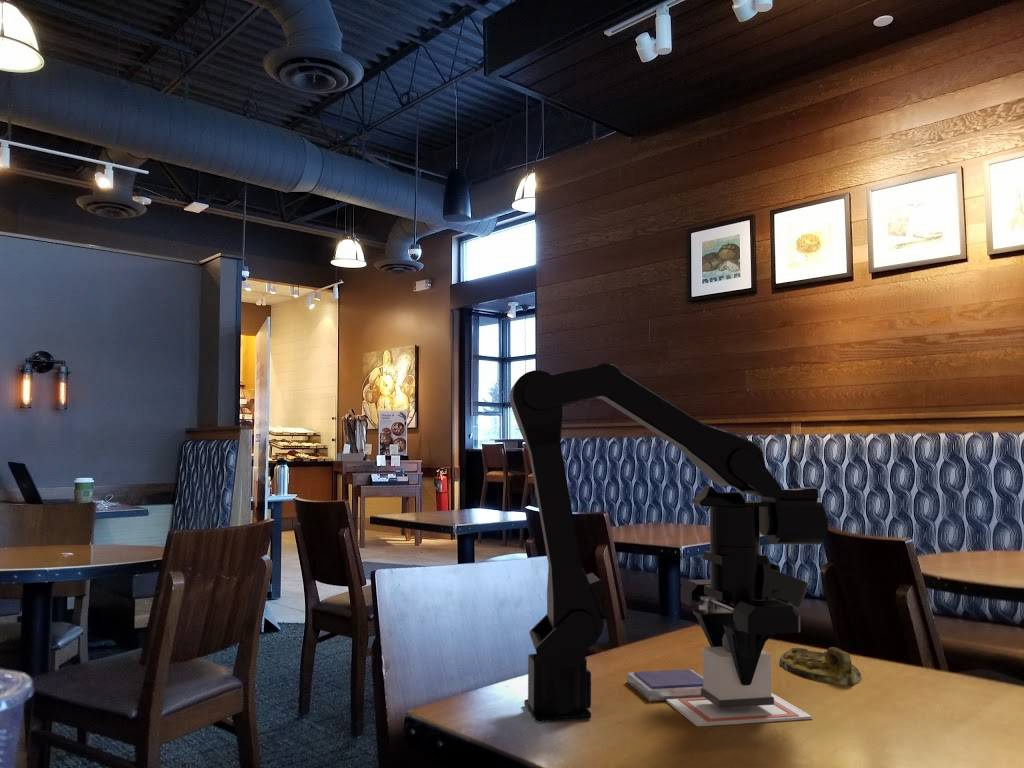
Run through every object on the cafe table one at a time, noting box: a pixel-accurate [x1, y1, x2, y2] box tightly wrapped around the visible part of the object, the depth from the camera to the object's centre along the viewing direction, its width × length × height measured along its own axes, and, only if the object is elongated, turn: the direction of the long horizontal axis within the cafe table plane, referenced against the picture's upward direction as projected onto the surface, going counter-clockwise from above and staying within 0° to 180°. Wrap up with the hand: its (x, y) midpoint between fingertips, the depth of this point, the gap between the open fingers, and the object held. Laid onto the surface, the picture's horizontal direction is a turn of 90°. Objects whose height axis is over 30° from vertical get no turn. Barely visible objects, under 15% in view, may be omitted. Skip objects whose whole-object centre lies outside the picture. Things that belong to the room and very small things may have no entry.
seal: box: [779, 646, 862, 686], centre depth 110 cm, size 9×5×15 cm
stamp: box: [701, 633, 774, 708], centre depth 93 cm, size 5×7×8 cm
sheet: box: [665, 692, 813, 727], centre depth 92 cm, size 14×9×1 cm, turn 102°
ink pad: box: [626, 668, 703, 702], centre depth 100 cm, size 9×8×2 cm
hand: (736, 679), depth 93 cm, fingers closed on stamp, 4 cm apart
